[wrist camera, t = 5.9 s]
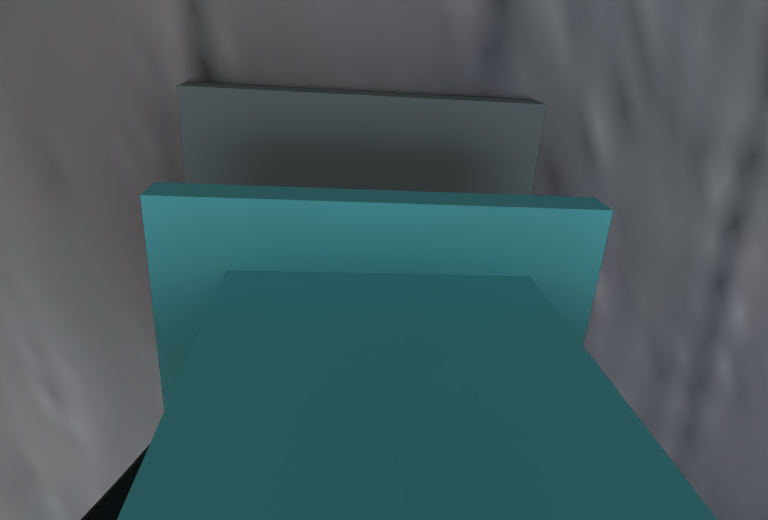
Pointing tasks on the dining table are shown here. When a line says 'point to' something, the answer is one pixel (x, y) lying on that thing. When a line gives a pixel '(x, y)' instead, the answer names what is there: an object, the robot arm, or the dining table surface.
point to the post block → (357, 139)
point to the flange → (386, 361)
